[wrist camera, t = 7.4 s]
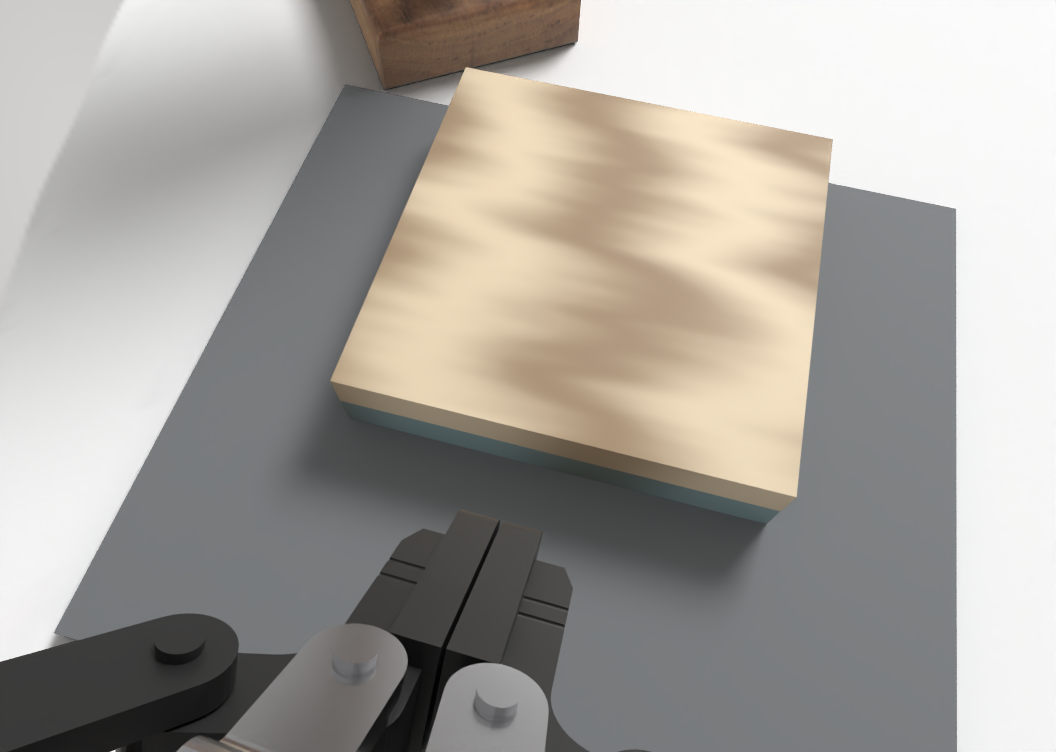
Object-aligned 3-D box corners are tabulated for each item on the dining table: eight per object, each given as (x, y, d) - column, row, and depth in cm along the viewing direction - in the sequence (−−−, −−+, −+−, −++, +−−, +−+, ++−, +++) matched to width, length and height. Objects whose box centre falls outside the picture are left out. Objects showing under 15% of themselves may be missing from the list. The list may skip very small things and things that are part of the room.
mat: (949, 216, 25) (955, 209, 25) (947, 900, 16) (956, 904, 16) (347, 93, 27) (345, 84, 27) (62, 635, 19) (54, 633, 18)
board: (766, 524, 20) (805, 191, 25) (796, 497, 18) (832, 139, 23) (349, 417, 21) (469, 122, 26) (329, 381, 19) (465, 67, 24)
